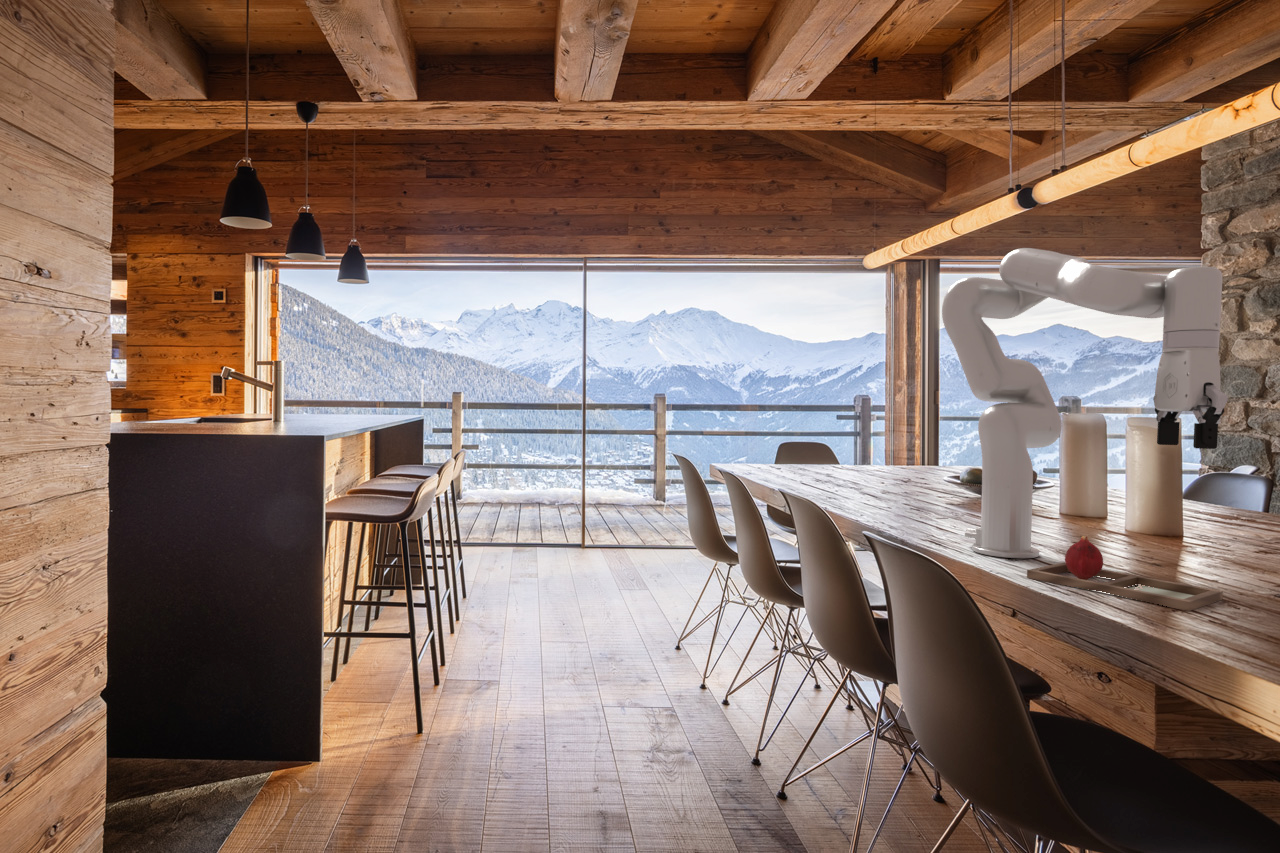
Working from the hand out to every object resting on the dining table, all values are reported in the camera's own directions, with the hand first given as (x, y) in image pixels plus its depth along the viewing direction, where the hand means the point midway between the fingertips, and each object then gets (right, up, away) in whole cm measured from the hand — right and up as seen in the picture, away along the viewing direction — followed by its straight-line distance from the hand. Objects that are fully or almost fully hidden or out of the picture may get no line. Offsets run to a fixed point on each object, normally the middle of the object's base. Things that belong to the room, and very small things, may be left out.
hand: (1185, 446), depth 120 cm
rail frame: (-9, -24, +3) cm, 26 cm away
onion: (-12, -24, +8) cm, 28 cm away
